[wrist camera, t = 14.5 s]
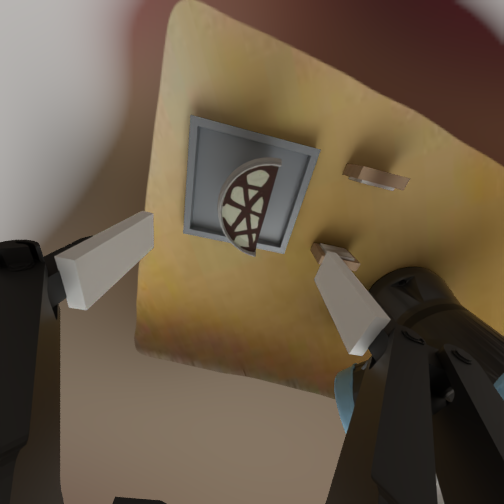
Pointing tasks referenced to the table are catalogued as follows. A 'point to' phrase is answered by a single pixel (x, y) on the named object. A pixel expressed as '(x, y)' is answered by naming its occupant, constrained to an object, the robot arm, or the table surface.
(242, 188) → the food container
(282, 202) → the tray
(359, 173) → the brown rectangular blocks
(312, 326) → the table surface
